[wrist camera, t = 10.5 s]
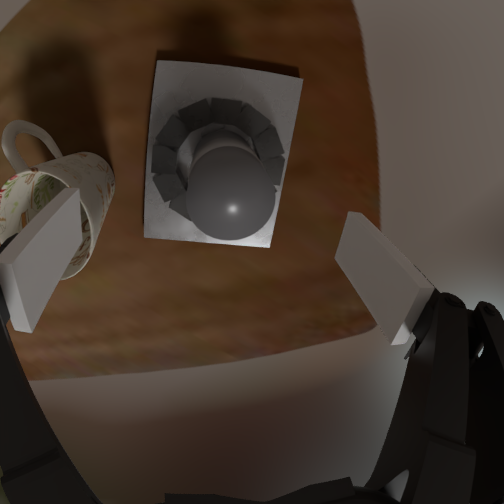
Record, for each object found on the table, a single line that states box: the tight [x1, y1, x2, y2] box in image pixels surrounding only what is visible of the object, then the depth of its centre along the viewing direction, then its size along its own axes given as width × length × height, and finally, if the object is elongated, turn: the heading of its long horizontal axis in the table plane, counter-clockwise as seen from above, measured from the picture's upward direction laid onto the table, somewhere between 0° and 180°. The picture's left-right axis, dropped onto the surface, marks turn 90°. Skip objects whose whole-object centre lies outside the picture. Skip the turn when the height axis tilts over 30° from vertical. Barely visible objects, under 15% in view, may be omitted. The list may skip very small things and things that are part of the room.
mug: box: [0, 120, 115, 280], centre depth 21 cm, size 8×13×10 cm, turn 30°
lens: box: [186, 130, 276, 241], centre depth 22 cm, size 5×5×10 cm
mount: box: [144, 60, 303, 248], centre depth 26 cm, size 12×16×3 cm
